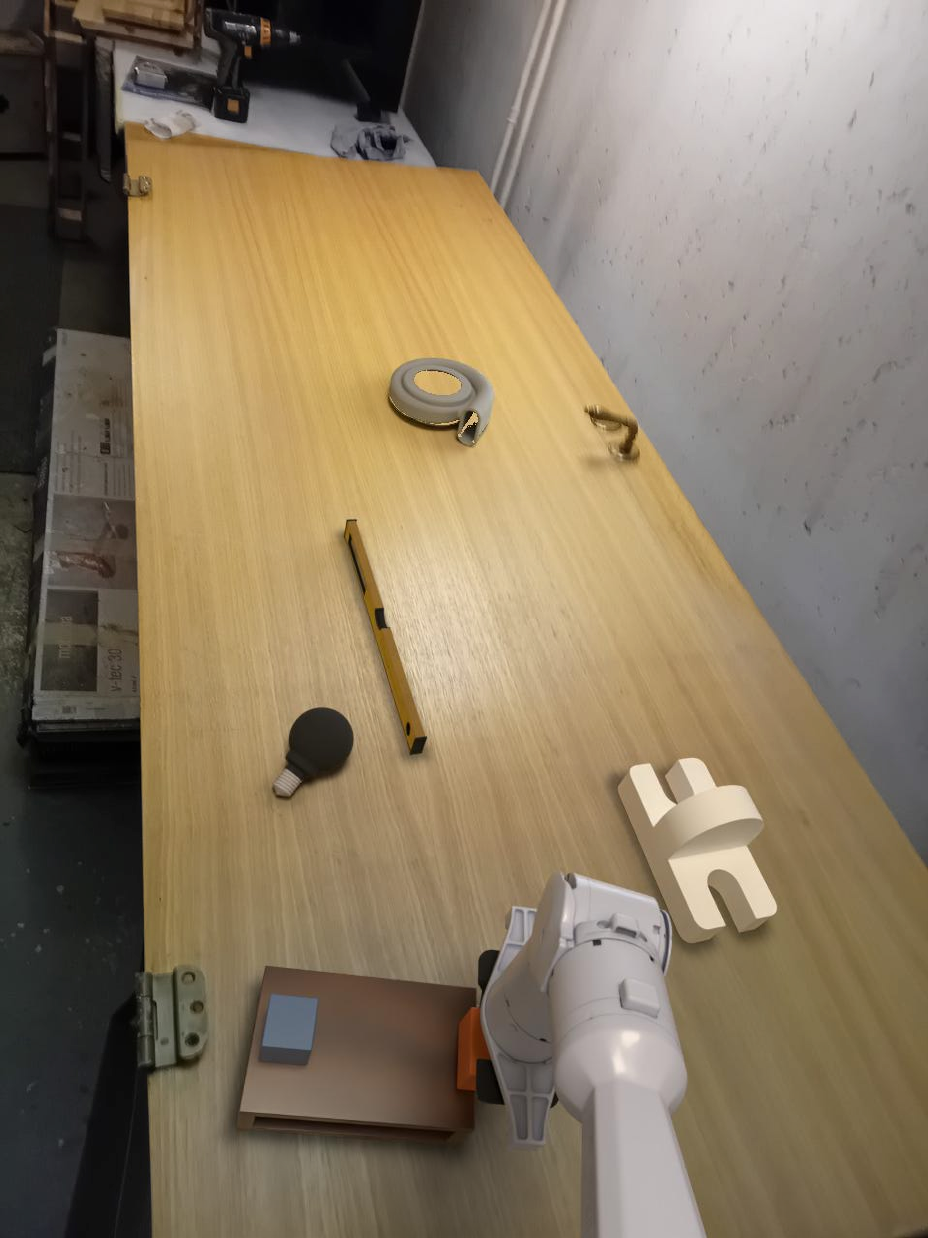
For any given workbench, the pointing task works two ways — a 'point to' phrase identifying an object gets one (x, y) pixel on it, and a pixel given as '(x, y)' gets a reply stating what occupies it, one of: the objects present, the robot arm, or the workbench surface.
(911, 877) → the workbench surface
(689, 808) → the cream double-notched bracket
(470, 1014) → the orange box
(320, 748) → the light bulb
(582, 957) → the robot arm
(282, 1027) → the blue box
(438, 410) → the turbocharger housing
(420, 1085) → the shelf
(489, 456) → the workbench surface
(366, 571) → the spirit level
